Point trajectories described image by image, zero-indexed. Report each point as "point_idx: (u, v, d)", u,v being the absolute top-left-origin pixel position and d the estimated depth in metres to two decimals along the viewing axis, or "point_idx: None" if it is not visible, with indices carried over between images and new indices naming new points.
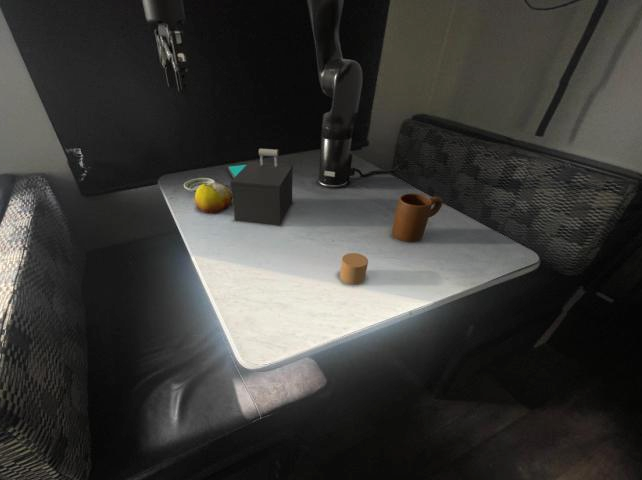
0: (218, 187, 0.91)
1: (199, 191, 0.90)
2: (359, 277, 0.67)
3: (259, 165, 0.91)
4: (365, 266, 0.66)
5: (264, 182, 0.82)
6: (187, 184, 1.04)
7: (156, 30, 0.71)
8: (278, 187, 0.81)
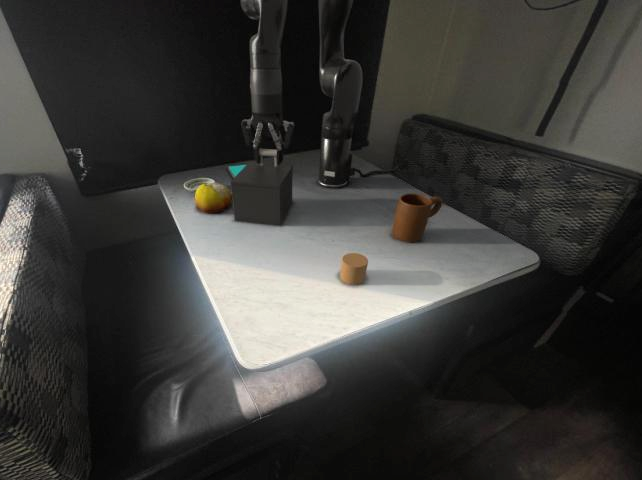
0: (218, 187, 0.91)
1: (199, 191, 0.90)
2: (359, 277, 0.67)
3: (259, 165, 0.91)
4: (365, 266, 0.66)
5: (264, 182, 0.82)
6: (187, 184, 1.04)
7: (243, 121, 0.84)
8: (278, 187, 0.81)
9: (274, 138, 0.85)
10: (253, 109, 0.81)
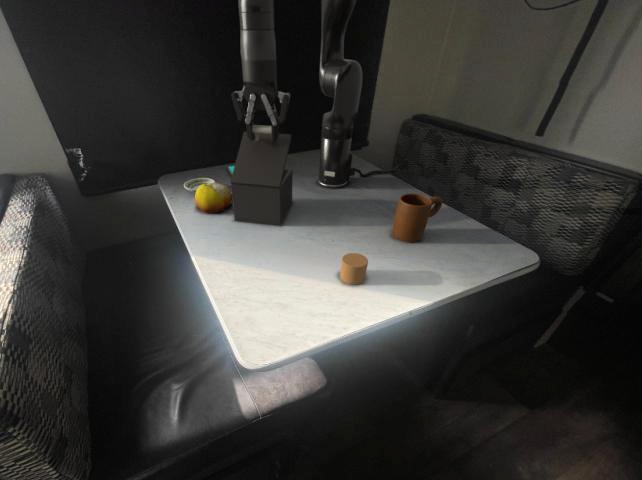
0: (218, 187, 0.91)
1: (199, 191, 0.90)
2: (359, 277, 0.67)
3: (255, 140, 0.85)
4: (365, 266, 0.66)
5: (264, 179, 0.81)
6: (187, 184, 1.04)
7: (234, 93, 0.77)
8: (278, 187, 0.81)
9: (268, 111, 0.77)
10: (244, 79, 0.73)
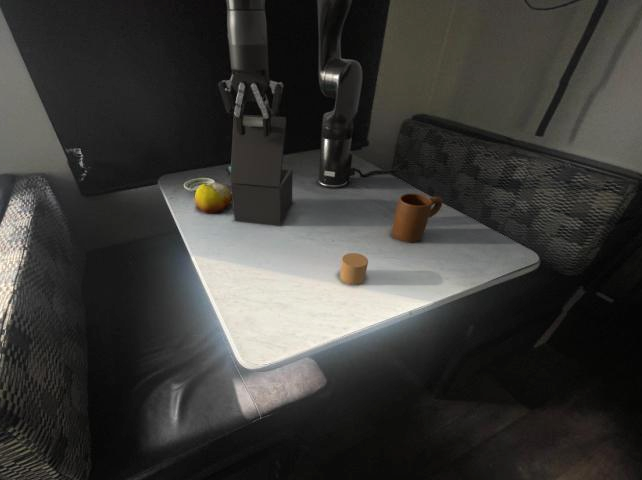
0: (218, 187, 0.91)
1: (199, 191, 0.90)
2: (359, 277, 0.67)
3: (247, 127, 0.78)
4: (365, 266, 0.66)
5: (263, 179, 0.80)
6: (187, 184, 1.04)
7: (222, 82, 0.69)
8: (278, 187, 0.81)
9: (259, 103, 0.70)
10: (232, 66, 0.66)
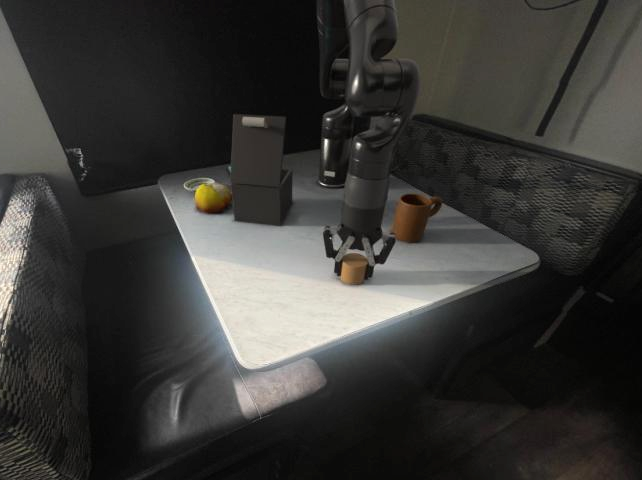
0: (218, 187, 0.91)
1: (199, 191, 0.90)
2: (359, 277, 0.67)
3: (247, 126, 0.78)
4: (365, 266, 0.66)
5: (263, 179, 0.80)
6: (187, 184, 1.04)
7: (327, 231, 0.63)
8: (279, 187, 0.81)
9: (367, 253, 0.64)
10: (345, 222, 0.60)
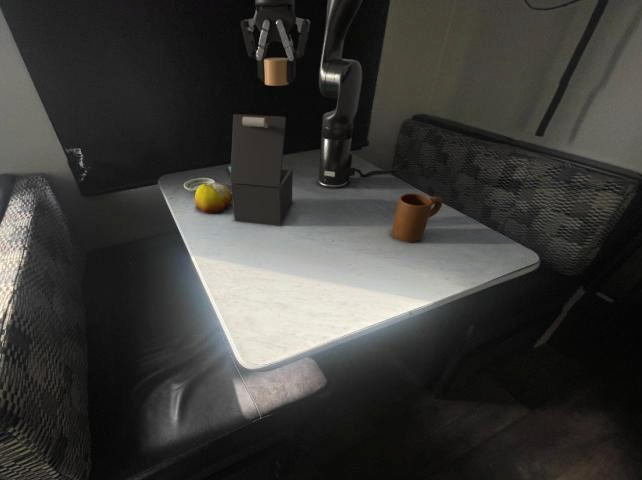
0: (218, 187, 0.91)
1: (199, 191, 0.90)
2: (280, 74, 0.69)
3: (247, 126, 0.78)
4: (285, 62, 0.68)
5: (263, 179, 0.80)
6: (187, 184, 1.04)
7: (244, 20, 0.66)
8: (279, 187, 0.81)
9: (284, 42, 0.66)
10: None
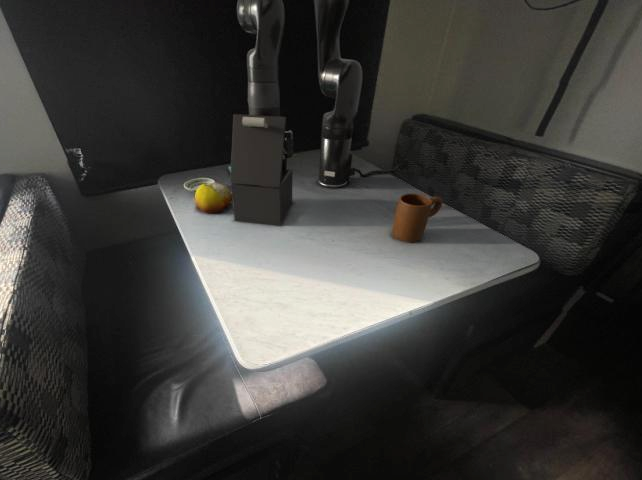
0: (218, 187, 0.91)
1: (199, 191, 0.90)
2: None
3: (247, 126, 0.78)
4: None
5: (263, 179, 0.80)
6: (187, 184, 1.04)
7: None
8: (279, 187, 0.81)
9: None
10: None
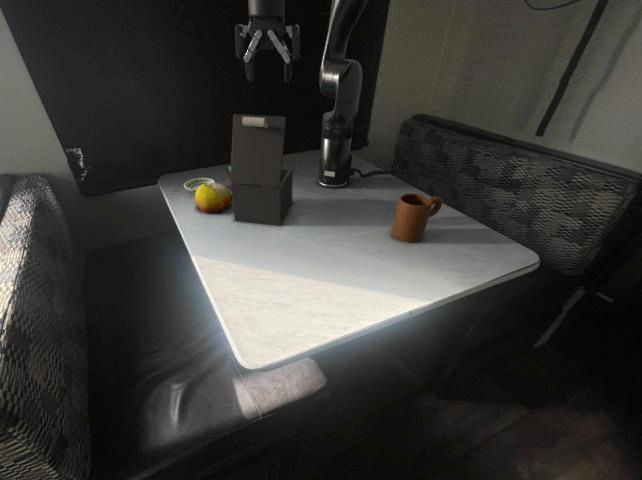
0: (218, 187, 0.91)
1: (199, 191, 0.90)
2: None
3: (247, 126, 0.78)
4: None
5: (263, 179, 0.80)
6: (187, 184, 1.04)
7: (239, 25, 0.71)
8: (279, 187, 0.81)
9: None
10: (250, 12, 0.68)
